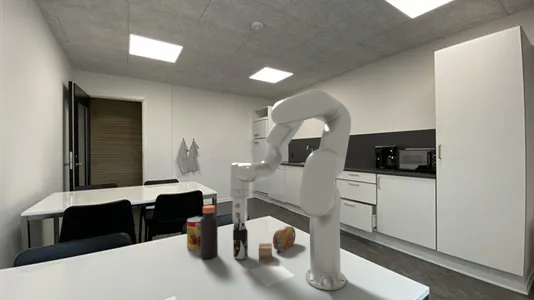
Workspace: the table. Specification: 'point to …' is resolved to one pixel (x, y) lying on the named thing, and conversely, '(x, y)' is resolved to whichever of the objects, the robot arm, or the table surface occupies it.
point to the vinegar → (209, 233)
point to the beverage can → (241, 245)
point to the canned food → (193, 233)
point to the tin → (284, 238)
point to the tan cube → (265, 251)
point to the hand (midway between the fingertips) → (239, 235)
